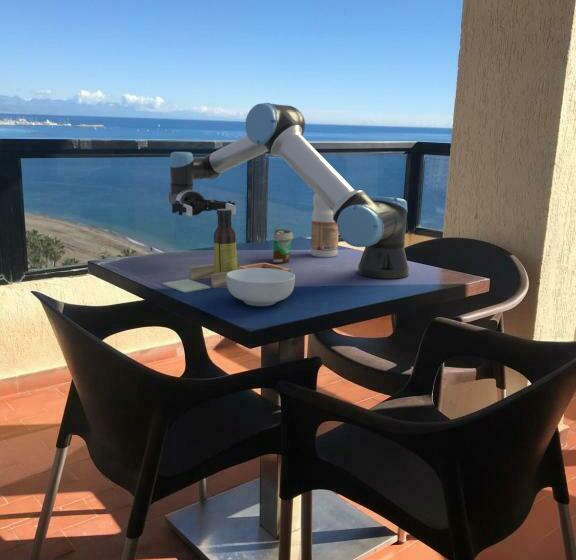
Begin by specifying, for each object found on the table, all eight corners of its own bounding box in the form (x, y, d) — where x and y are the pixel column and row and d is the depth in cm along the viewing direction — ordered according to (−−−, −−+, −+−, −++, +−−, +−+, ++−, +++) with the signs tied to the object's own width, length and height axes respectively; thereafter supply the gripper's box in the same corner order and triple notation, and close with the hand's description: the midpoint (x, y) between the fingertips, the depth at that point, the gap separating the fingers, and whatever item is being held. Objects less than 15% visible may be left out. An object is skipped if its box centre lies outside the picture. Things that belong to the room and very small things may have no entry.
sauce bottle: (240, 278, 171) (241, 209, 166) (229, 283, 165) (229, 211, 160) (221, 276, 173) (221, 207, 169) (209, 280, 168) (209, 209, 163)
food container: (292, 265, 189) (293, 234, 187) (273, 265, 189) (273, 234, 187) (292, 258, 201) (293, 228, 199) (274, 257, 201) (275, 228, 199)
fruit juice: (305, 255, 206) (308, 173, 200) (318, 251, 214) (321, 172, 208) (329, 258, 202) (333, 174, 195) (342, 254, 209) (346, 173, 203)
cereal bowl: (308, 304, 147) (309, 276, 145) (255, 316, 136) (255, 285, 134) (264, 290, 159) (265, 264, 157) (212, 300, 148) (212, 272, 147)
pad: (210, 288, 159) (210, 286, 159) (184, 292, 154) (184, 291, 154) (187, 280, 167) (187, 278, 167) (162, 284, 162) (162, 283, 162)
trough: (260, 279, 170) (260, 267, 169) (214, 287, 160) (214, 275, 159) (235, 272, 179) (235, 260, 178) (189, 279, 168) (189, 267, 167)
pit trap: (290, 274, 178) (290, 269, 177) (264, 278, 171) (264, 273, 171) (264, 267, 186) (264, 262, 186) (239, 271, 180) (239, 266, 179)
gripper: (226, 212, 201) (251, 222, 183) (152, 215, 190) (172, 225, 172) (226, 190, 199) (252, 197, 181) (152, 191, 188) (171, 198, 170)
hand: (213, 210), depth 176 cm, fingers open, 13 cm apart
